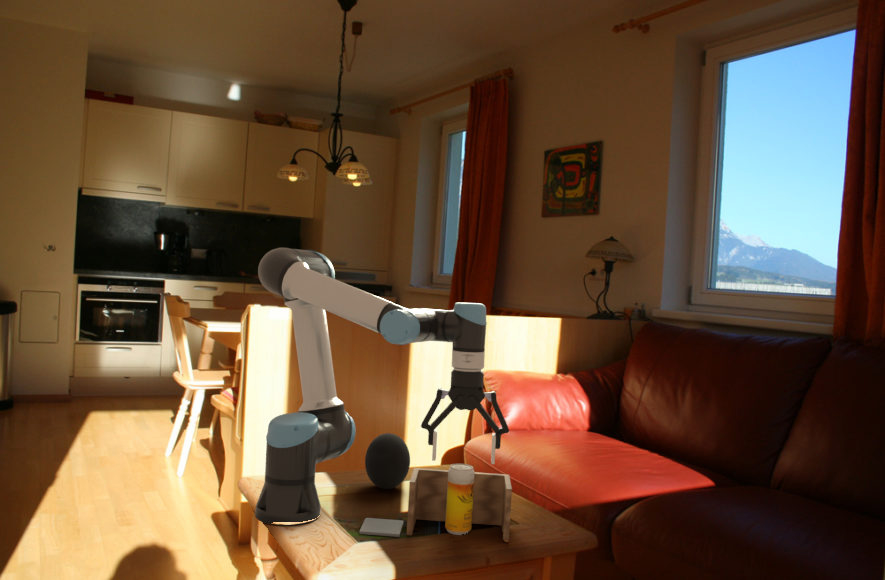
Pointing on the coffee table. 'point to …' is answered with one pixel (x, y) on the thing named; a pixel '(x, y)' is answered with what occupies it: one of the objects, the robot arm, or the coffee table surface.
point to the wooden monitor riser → (432, 498)
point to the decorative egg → (387, 461)
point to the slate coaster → (381, 527)
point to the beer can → (459, 499)
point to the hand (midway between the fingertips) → (463, 461)
